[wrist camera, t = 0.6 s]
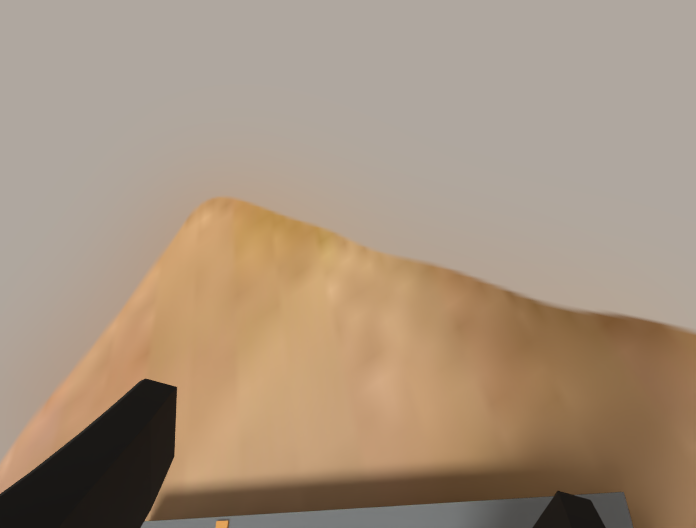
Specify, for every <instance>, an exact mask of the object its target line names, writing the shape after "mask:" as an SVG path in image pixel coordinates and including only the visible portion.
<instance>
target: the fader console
mask: <svg viewBox="0 0 696 528" xmlns="http://www.w3.org/2000/svg"><path fill="white" fill-rule="evenodd" d="M575 496H578V497H582V498H586V499H589V500H591V501H592V503H593V505H594V507H595V509H596V510H597V512H598V514H599V516H600V518H601V520H602V521H603V523H604V525H605V527H606V528H633V524H632V520H631V517H630V513H629V509H628V506H627V502H626V498H625V495H624V492H615V493H598V494H582V495H575ZM553 497H554V496H550V497H534V498H517V499H501V500H485V501H469V502H452V503H436V504H420V505H404V506H388V507H371V508H355V509H339V510H323V511H307V512H290V513H274V514H258V515H242V516H226V517H209V518H193V519H177V520H161V521H144V522H143V524H142V526H141V528H533V526H534V525H535V523H536V522H537V520H538V519H539V517H540V516H541V514H542V513H543V512H544V510H545V509H546V507H547V506H548V504H549V503H550V501H551V500H552V498H553Z"/></svg>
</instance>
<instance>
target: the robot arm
mask: <svg viewBox="0 0 696 528" xmlns="http://www.w3.org/2000/svg"><path fill="white" fill-rule="evenodd" d="M176 398H177V387H175V386H171V385H167V384H164V383H160V382H156V381H153V380H149V379H144V380H142V381H140V382H139V383H137V384H136V385H135V386H134V387H133V388H132V389H131V390H130V391H129V392H127V393H126V394H125V395H124V396H123V397H122V398H121V399H119V400H118V401H117V402H116V403H115V404H114V405H113V406H111V407H110V408H109V409H108V410H107V411H106V412H104V413H103V414H102V415H101V416H100V417H99V418H97V419H96V420H95V421H94V422H93V423H91V424H90V425H89V426H88V427H87V428H85V429H84V430H83V431H82V432H81V433H79V434H78V435H77V436H76V437H74V438H73V439H72V440H71V441H69V442H68V443H67V444H66V445H64V446H63V447H62V448H60V449H59V450H58V451H57V452H55V453H54V454H53V455H52V456H50V457H49V458H48V459H47V460H45V461H44V462H43V463H42V464H40V465H39V466H38V467H36V468H35V469H34V470H32V471H31V472H30V473H28V474H27V475H26V476H24V477H23V478H22V479H20V480H19V481H17V482H16V483H15V484H13V485H12V486H11V487H9V488H8V489H6V490H5V491H4V492H2V493H1V494H0V528H141V526H142V524H143V522H144V521H145V519H146V517H147V515H148V514H149V512H150V510H151V508H152V506H153V504H154V501H155V499H156V497H157V495H158V492H159V490H160V488H161V486H162V484H163V481H164V479H165V477H166V474H167V472H168V470H169V467H170V465H171V463H172V460H173V458H174V449H175V424H176ZM533 528H606V527H605V525H604V523H603V521H602V520H601V518H600V516H599V514H598V512H597V510H596V509H595V507H594V505H593V503H592V501H591V500H589V499H586V498H582V497H578V496H575V495H571V494H567V493H564V492H560V491H557V493H556V494H555V495H554V497H553V498H552V500H551V501H550V503H549V504H548V506H547V507H546V509H545V510H544V512H543V513H542V514H541V516H540V517H539V519H538V520H537V522H536V523H535V525H534V526H533Z"/></svg>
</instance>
